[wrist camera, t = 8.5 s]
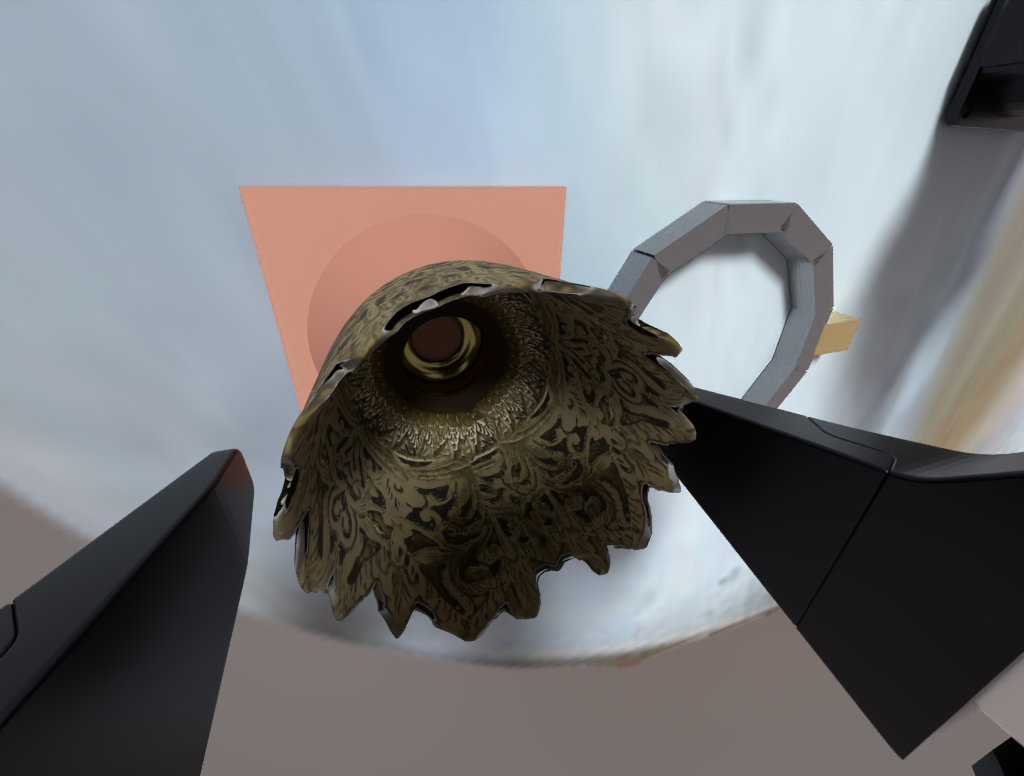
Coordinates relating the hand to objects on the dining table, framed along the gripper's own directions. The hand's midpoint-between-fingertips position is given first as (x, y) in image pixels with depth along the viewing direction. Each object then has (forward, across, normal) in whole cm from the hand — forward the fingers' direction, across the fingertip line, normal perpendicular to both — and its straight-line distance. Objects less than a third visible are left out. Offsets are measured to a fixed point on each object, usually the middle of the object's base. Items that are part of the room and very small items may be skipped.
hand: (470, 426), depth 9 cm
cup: (+6, 0, 0) cm, 6 cm away
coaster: (+6, 0, 0) cm, 6 cm away
